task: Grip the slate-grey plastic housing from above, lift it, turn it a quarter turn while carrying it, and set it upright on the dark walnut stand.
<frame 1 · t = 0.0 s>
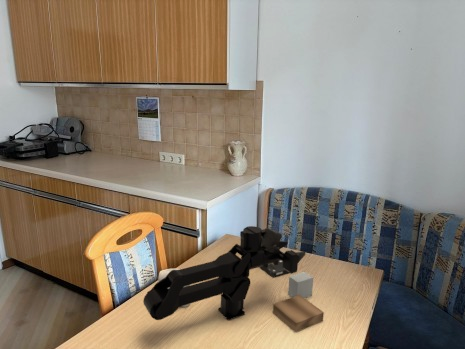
hand: (295, 247, 122), 17 cm above the table, tool horizontal, fingers open, 9 cm apart
housing: (299, 295, 124), on the table
photo printer: (174, 304, 117), on the table
stand: (297, 316, 112), on the table
disk drive: (272, 268, 143), on the table
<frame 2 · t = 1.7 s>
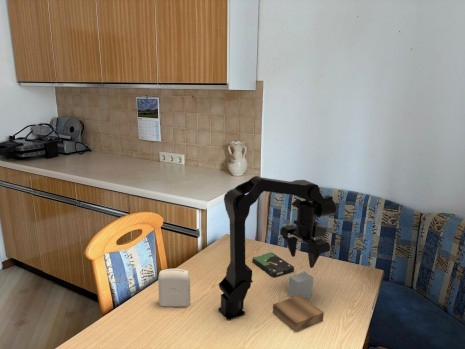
hand: (302, 261, 121), 13 cm above the table, tool pointing down, fingers open, 9 cm apart
nothing on the table moved.
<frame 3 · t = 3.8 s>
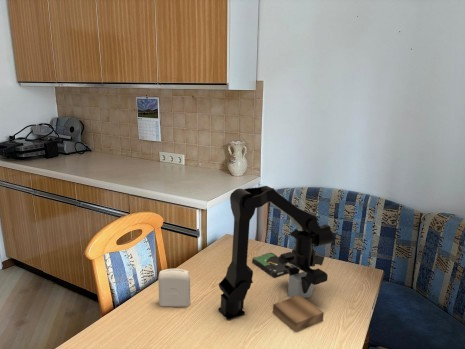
hand: (300, 289, 123), 2 cm above the table, tool pointing down, fingers closed on housing, 4 cm apart
housing: (299, 294, 124), on the table, touching gripper
everything else where it was.
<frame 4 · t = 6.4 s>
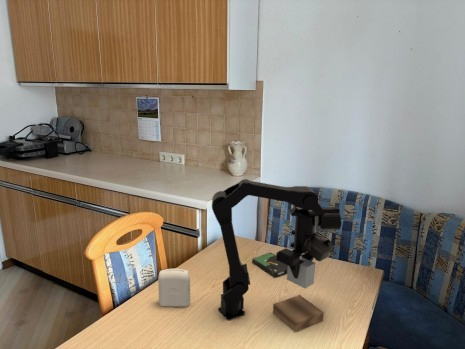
hand: (300, 275, 111), 13 cm above the table, tool pointing down, fingers closed on housing, 4 cm apart
housing: (300, 281, 111), point 11 cm above the table, touching gripper
everything else where it was.
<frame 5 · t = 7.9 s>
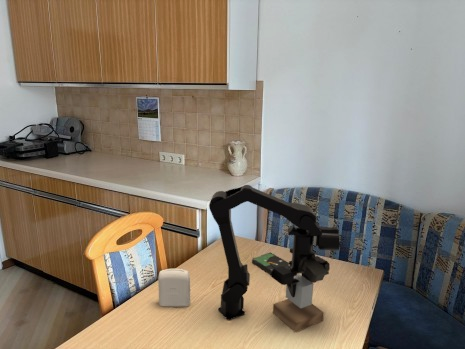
hand: (298, 294, 110), 8 cm above the table, tool pointing down, fingers closed on housing, 4 cm apart
housing: (298, 300, 110), point 6 cm above the table, touching gripper
everything else where it was.
when the fingers open (6 cm above the table, at t = 9.0 s): housing drops 1 cm, resting on stand.
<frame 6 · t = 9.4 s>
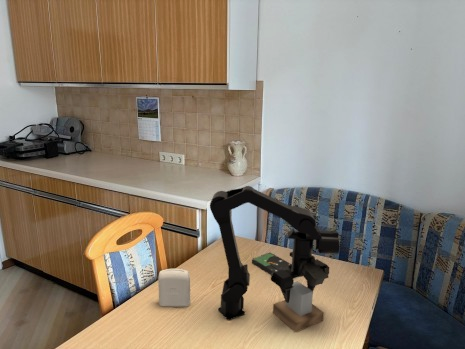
hand: (298, 298, 110), 6 cm above the table, tool pointing down, fingers open, 9 cm apart
housing: (298, 308, 111), point 3 cm above the table, touching stand
everything else where it was.
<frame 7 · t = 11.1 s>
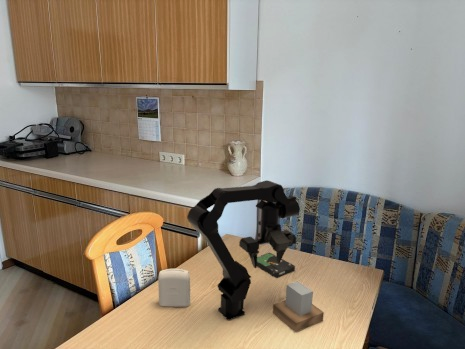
hand: (266, 265, 117), 13 cm above the table, tool pointing down, fingers open, 9 cm apart
nothing on the table moved.
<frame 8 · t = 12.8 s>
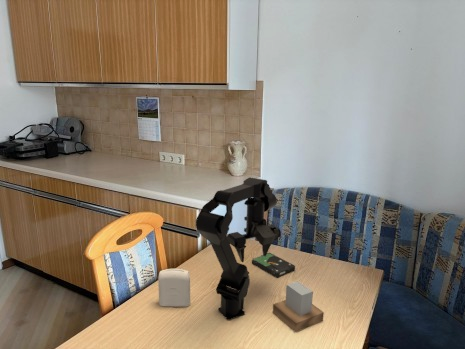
hand: (253, 258, 121), 13 cm above the table, tool pointing down, fingers open, 9 cm apart
nothing on the table moved.
at the end: housing inside the target area on the stand (0.0 cm from its centre), point 3.0 cm above the stand's base; housing tilted 0°; the gripper is holding nothing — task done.
